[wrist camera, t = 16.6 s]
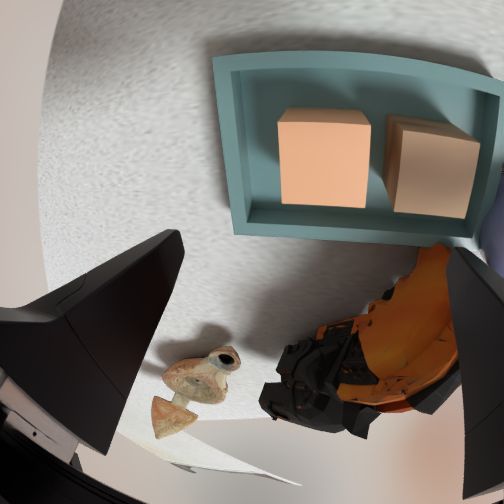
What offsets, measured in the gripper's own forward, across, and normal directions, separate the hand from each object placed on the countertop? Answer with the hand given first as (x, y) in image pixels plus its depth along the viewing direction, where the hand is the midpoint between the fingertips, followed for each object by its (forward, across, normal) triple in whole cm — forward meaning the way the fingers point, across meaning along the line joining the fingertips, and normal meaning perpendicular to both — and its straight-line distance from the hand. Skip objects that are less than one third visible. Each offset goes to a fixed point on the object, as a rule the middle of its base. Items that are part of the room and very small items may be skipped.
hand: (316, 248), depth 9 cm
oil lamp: (+12, +14, +29) cm, 35 cm away
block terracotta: (+12, 0, 0) cm, 12 cm away
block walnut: (+12, -6, 0) cm, 13 cm away
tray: (+12, -3, 0) cm, 12 cm away
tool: (+12, -4, +16) cm, 20 cm away
